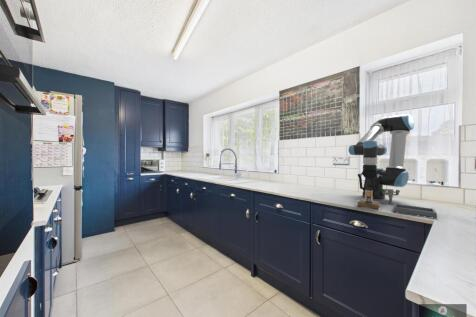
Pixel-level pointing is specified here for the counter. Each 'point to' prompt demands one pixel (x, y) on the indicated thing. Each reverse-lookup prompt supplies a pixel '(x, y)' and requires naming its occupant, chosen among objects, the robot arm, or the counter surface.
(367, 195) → the tall wooden block
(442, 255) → the counter surface
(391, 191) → the mechanical component
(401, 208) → the parts tray
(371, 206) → the block
